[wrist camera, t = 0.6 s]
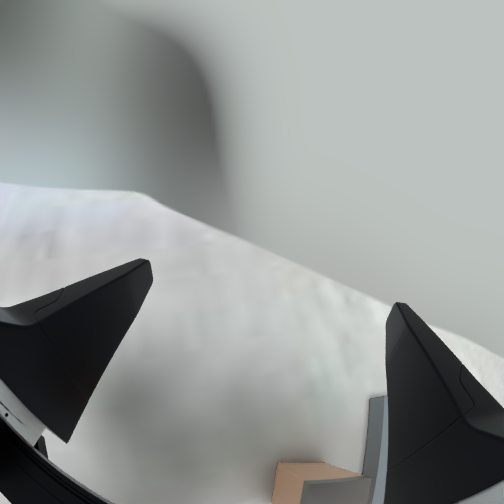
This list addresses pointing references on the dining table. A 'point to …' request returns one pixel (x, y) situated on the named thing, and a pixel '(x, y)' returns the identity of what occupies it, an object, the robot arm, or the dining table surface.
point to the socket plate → (377, 449)
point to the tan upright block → (319, 485)
